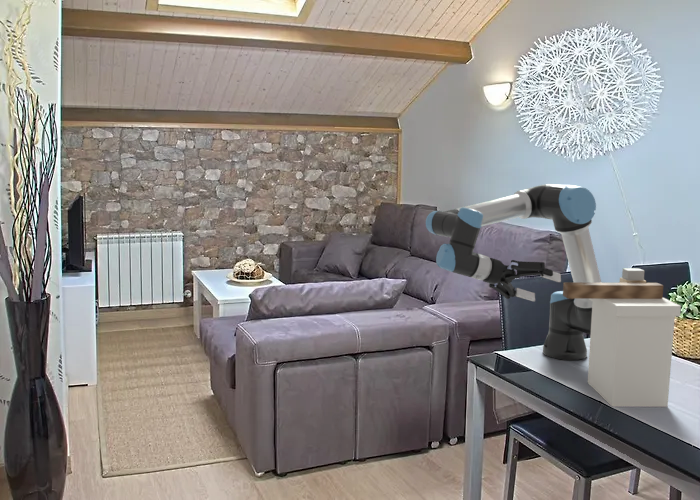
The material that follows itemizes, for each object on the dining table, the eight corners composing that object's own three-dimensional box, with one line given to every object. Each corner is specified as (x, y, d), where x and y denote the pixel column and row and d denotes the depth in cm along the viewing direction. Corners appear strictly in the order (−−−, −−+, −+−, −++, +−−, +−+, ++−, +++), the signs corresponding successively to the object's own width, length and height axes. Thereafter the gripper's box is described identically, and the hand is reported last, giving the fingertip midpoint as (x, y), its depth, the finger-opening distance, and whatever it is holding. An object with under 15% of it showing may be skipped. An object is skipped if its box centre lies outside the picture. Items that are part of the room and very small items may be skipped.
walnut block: (567, 298, 198) (567, 285, 198) (562, 295, 202) (563, 282, 202) (662, 298, 199) (663, 285, 198) (656, 295, 202) (657, 282, 202)
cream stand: (610, 408, 194) (616, 305, 189) (583, 381, 216) (588, 289, 211) (672, 408, 194) (680, 306, 190) (639, 381, 216) (646, 289, 211)
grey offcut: (627, 280, 205) (628, 270, 205) (622, 277, 209) (622, 268, 209) (643, 280, 205) (644, 270, 205) (638, 277, 209) (638, 268, 209)
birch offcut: (625, 293, 205) (626, 280, 205) (618, 290, 210) (619, 277, 210) (645, 293, 205) (646, 280, 205) (638, 290, 210) (639, 277, 210)
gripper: (465, 297, 212) (524, 315, 217) (508, 260, 192) (572, 280, 197) (466, 277, 216) (523, 294, 221) (508, 238, 196) (570, 258, 201)
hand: (546, 288), depth 209 cm, fingers open, 13 cm apart
